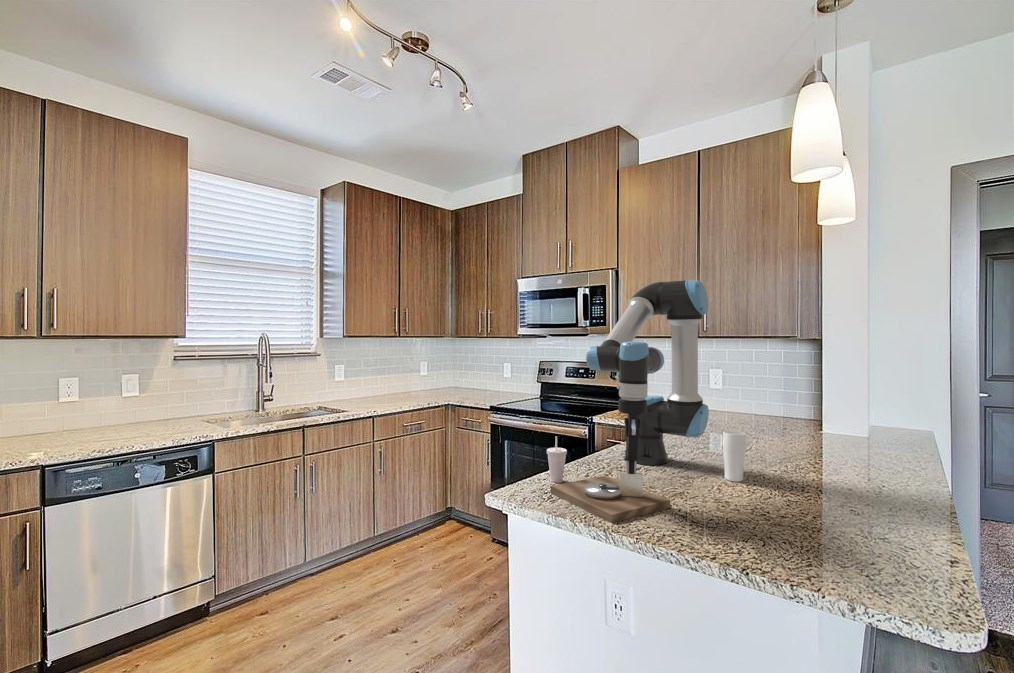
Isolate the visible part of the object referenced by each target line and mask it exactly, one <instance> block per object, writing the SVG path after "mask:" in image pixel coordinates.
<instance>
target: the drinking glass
mask: <svg viewBox="0 0 1014 673" xmlns="http://www.w3.org/2000/svg"><path fill="white" fill-rule="evenodd" d="M746 452H747V434H746V433H745V432H742V431H737V430H724V431H722V454H723V466H724V467H723V469H724V479H725V480H726V481H730V482H733V483H734V482H736V483H741V482H742V481H744V471H745V462H746V461H745V459H746Z"/></svg>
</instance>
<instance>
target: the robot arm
mask: <svg viewBox="0 0 1014 673" xmlns="http://www.w3.org/2000/svg"><path fill="white" fill-rule="evenodd" d="M708 298H709V296H708V293H707V289H706V287H705V284H704V283H703V282H702V281H700V280H696V279H695V280H689V279H686V280H675V281H657V282H653V283H650V284H648V285H645V286H644V287H643V288H641V289H640V290H638V291H636V293H635V294H633V295H632V296H631V297H630V299H629V300H628V302H627V303H626V309H625V311H624V312H623V313H622V315H621V317H620V318H619V319H618V320H617V322H616V323H615V325H614V327H612V328H611V330H610V332H609V334H608V335H607V336H606V337H605V339H603V341H602V343H601V344H600V345H599V346H598V345H594V346H590V347H589V348H588V349H587V351H586V354H585V355H586V356H585V362H586V365H587V368H589V369H590V370H592V371H599V372H613V373H614V372H615V373H617V372H618V373H619V374H618V375H619V376H618V377H619V379H618V381H619V383H618V384H619V385H617V386H616V389H617V390H618V396H619V397H620V398H619V399H618V406H617V408H618V410H617V411H618V412H619V413H621V414H625V415H627V417H625V418H624V420H623V421H624V422H623V423H624V427H625V428H624V429H625V430H624V432H625V443H626V444H625V450H624V458H623V461H624V462H625V472H629V473H637V464H638V465H639V464H640V465H649V466H651V465H652V466H654V465H664V464H666V463H668V459H669V456H668V453H667V450H666V446H665V443H664V434H665V435H672V436H680V437H686V438H697V439H698V438H701V437H702V436H703V435H704V433H705V431H706V428H707V425H708V422H709V415H710V412H709V406H708V405H707V404H705V403H704V400H703V397H702V396H701V395H700V394H699V364H698V363H699V348H698V347H699V340H698V338H699V333H698V332H699V330H698V328H699V324H700V323H701V322H702V320H703V316H704V315H706V314H707V313H708V311H709V299H708ZM664 315H665V316H666V321H667V322H668V323H669V324H670V325H671V327H670V328H671V393H670V394H669V395H668V396H667V400H665V398H664V396H662V395H648V388H649V387H648V386H649V385H648V374H650V375H651V374H655V373H656V372H658V371H660V370H661V369H662V368H663V367H664V364H665V356H664V354H663V353H662V351H661V350H660V349H658V348H656V347H653V346H649V345H648V343H647V342H645V341H635V340H634V339H635V338H636V336H637V335H638V334H639V332H640V330H641V329H642V328H643V326H644V324H645V323H646V321H649V320H651V318H652V317H653V316H664Z"/></svg>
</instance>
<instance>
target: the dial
mask: <svg viewBox="0 0 1014 673" xmlns="http://www.w3.org/2000/svg"><path fill="white" fill-rule="evenodd" d="M643 476H644V474H643V472H636V473H629V472H626V471H619V481H620V484H619V486H617V485H615V484H611V483H605V482H593V483H588V484H586V485H585V486H584V493H585V494H586V495H587V496H589V497H592V498H596V499H604V500H610V499H617V498H619V497H621V496H633V497H643V490H644V489H643V488H644V486H643V483H644V480H643V479H644V478H643Z"/></svg>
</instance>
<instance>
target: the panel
mask: <svg viewBox="0 0 1014 673" xmlns="http://www.w3.org/2000/svg"><path fill="white" fill-rule="evenodd" d="M593 482H605V483H611V484H615V485H617V486H619V484H620V480H618V479H616V478H613V477H610V476H608V475H601V476H596V477H591V478H586V479H579V480H575V481H571V482H566V483H559V484H555V485H550V494H552V495H553V496H556V497H557V498H561V500H565V501H566V502H568V503H569V504H570V503H571V504H572V505H574V506H575V507H578V508H580V509H582V510H584V511H587V512H589V513H591V515H594V516H597V517H599V518H601V519H602V520H605V521H607V522H609V523H611V524H614V523H616V522H620V521H624V520H628V519H632V518H636V517H638V516H643V515H648V514H650V513H655V512H659V511H662V510H666V509H670V508H671V499H668V498H666V497H664V496H661V495H657V494H655V493H653V492H650V491H647V490H645V489H643V497H633V496H621V497H619V498H617V499H610V500H604V499H596V498H592V497H589V496H587V495H586V494H585V493H584V486H585V485H586V484H588V483H593Z"/></svg>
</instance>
